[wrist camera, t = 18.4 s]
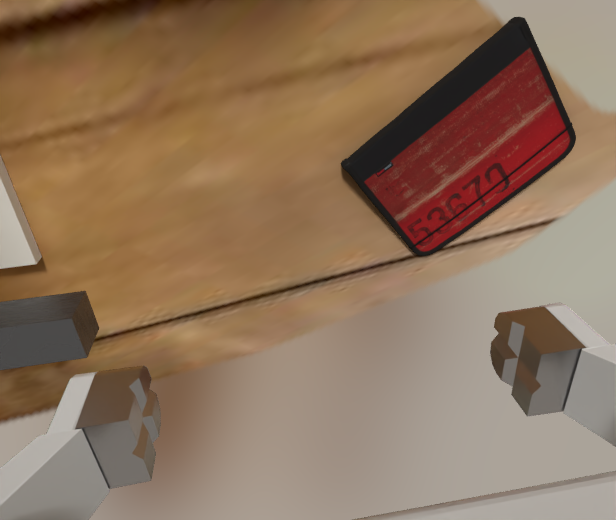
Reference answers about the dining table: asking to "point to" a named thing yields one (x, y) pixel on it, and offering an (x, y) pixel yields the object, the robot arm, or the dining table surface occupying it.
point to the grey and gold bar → (46, 329)
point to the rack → (14, 228)
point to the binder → (466, 142)
